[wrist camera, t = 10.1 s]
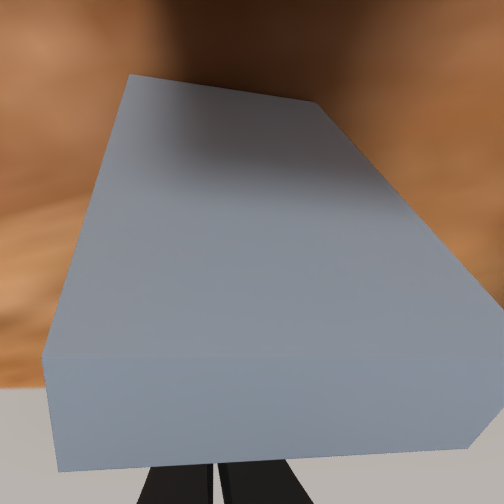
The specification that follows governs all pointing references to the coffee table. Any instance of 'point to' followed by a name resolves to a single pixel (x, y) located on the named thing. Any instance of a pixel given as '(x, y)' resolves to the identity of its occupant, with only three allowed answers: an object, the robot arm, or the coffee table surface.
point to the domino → (259, 298)
